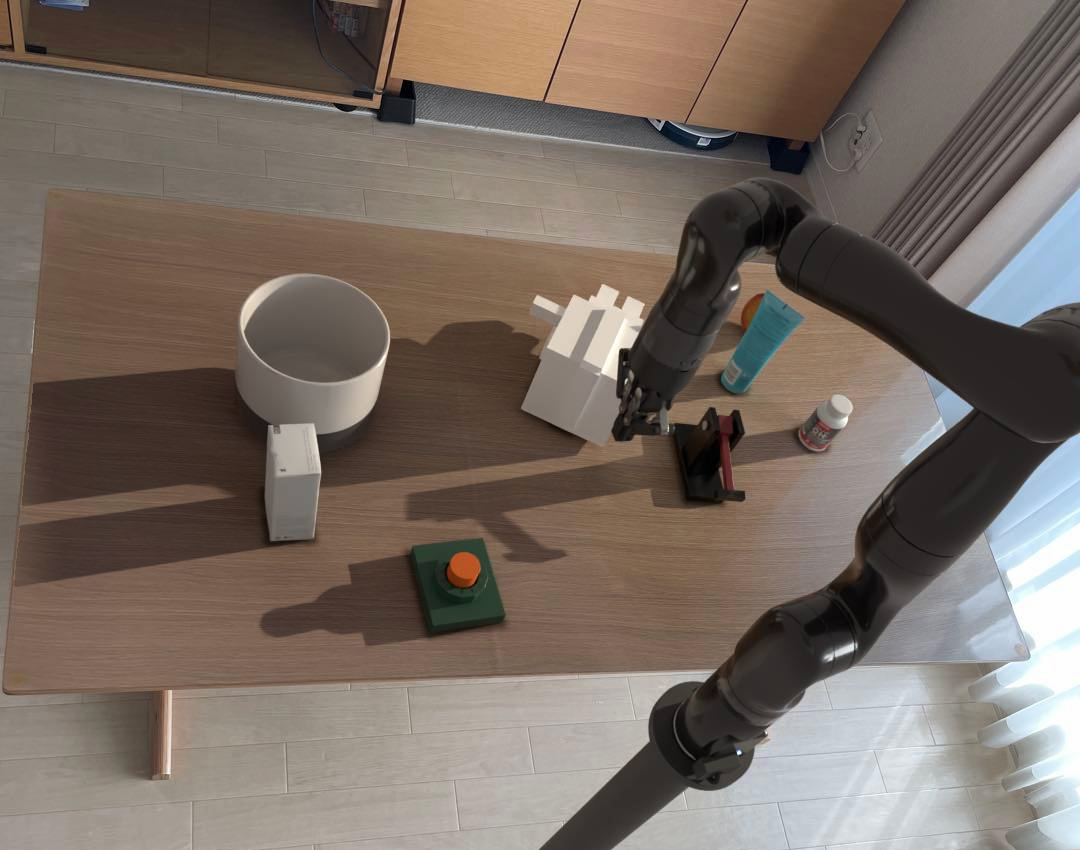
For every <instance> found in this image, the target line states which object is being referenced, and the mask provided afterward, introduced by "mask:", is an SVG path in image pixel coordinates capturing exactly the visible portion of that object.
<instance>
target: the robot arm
mask: <svg viewBox="0 0 1080 850" xmlns="http://www.w3.org/2000/svg"><path fill="white" fill-rule="evenodd" d="M765 254H766V255H769V256H772V257H774V258H775V263H774V271H775V275H776V278H777V280H778V281H779V283H780V284H781V285H782V286H783V287H784V288H786V289H787V290H789V291H790V292H792V293H794V294H795V295H797V296H799V297H801V298H803V299H804V300H807V301H809V302H811V303H813V304H814V305H816V306H819V307H820V308H821V309H825V310H827V311H828V312H830V313H832V314H834V315H836V316H837V317H838V316H839V317H840V318H842V319H844V320H846V321H848V322H849V323H851V324H853V325H856V326H857V327H859V328H860V329H863V330H864V331H866V332H867V333H869V334H870V335H872V336H874V337H876V338H877V339H879V340H880V341H882V342H883V343H885V344H886V345H887V346H889V347H891V348H892V349H893V350H895V351H896V352H897V353H899V354H900V355H901V356H903V357H905V358H906V359H907V360H909V361H910V362H912V363H913V364H914V365H915V366H917V367H918V368H920V370H922V371H924V372H925V373H926V374H927V375H929V376H931V377H932V378H933V379H935V380H936V381H937V382H939V383H940V384H941V385H943V386H944V387H945V388H947V389H949V390H950V391H951V392H952V393H953V394H955V395H956V396H957V397H959V398H960V399H961V400H963V401H964V402H965V403H966V404H968V405H969V406H971V407H972V409H971V410H969V412H968V413H967V414H966V415H965V416H964V417H963V418H961V419H960V420H959V421H957V423H955V424H954V425H953V426H952V427H950V428H949V429H948V430H946V431H945V432H944V433H942V435H940V436H939V437H938V438H936V439H935V440H934V441H933V442H931V443H930V444H929V445H928V446H927V447H926V448H925V449H923V450H922V451H920V453H919V454H917V455H916V456H915V457H914V458H913V459H912V460H910V461H909V463H907V465H905V467H903V468H902V469H901V470H900V472H898V474H896V475H895V476H894V477H893V478H892V479H891V480H890V482H888V484H887V485H886V486H885V488H884V489H883V490H882V491H881V492H880V494H878V496H877V497H876V498H875V499H874V501H873V502H872V503H871V504H870V505H869V506H868V508H867V509H866V511H865V512H864V513H863V515H862V516H861V518H860V520H859V522H858V525H857V527H856V531H855V535H854V557H853V558H852V560H851V561H850V563H849V564H848V565H847V566H846V567H845V568H844V569H843V570H842V571H841V573H839V574H838V575H836V577H835V578H834V579H832V581H830V582H829V583H827V584H826V585H825V586H824V587H822V588H819V589H817V590H816V591H813V592H810V593H807V594H804V595H802V596H799V597H796V598H794V599H791V600H788V601H786V602H783V603H779V604H777V605H775V606H772V607H770V608H769V609H768V610H766V611H765V612H763V613H762V614H761V615H760V616H759V617H758V618H757V619H756V620H755V621H754V622H753V623H752V625H751V626H749V628H748V629H747V630H746V632H744V634H743V635H742V636H741V637H740V638H739V639H738V641H737V643H736V645H735V647H734V651H733V653H732V654H731V655H730V656H729V657H728V658H727V659H726V660H725V661H724V662H723V663H722V664H721V665H720V666H719V667H718V668H717V669H716V670H715V671H713V673H712V674H711V675H710V676H709V677H708V678H707V679H706V680H705V681H703V682H704V683H703V684H702V685H701V686H700V687H697V688H695V689H694V690H693V691H692V692H694V691H695V692H694V693H693V694H692V695H691V696H690V697H689V698H688V699H687V700H686V701H684V702H683V703H682V704H681V705H680V706H679V707H678V708H677V709H676V711H675V713H674V715H673V718H672V733H673V737H674V740H675V742H676V744H677V746H678V748H679V749H680V750H681V752H682V753H683V754H684V755H685V756H686V757H687V758H689V759H690V760H691V761H693V762H694V764H693V765H692V768H693V771H694V774H695V777H696V779H697V780H701V779H706V780H707V781H708V782H709V783H711V784H712V785H717V784H718V783H719V782H720V780H721V777H722V775H723V774H727V773H731V772H733V771H734V770H735V769H737V768H738V767H739V766H741V765H742V764H741V761H740V759H739V758H741V757H742V756H743V755H745V754H746V753H747V752H748V751H750V750H751V749H752V748H754V747H755V748H756V746H758V745H759V744H760V743H761V742H762V741H764V740H765V739H767V738H768V736H769V733H768V729H769V728H770V727H771V726H773V725H774V724H776V722H778V721H779V720H781V718H783V717H784V716H786V714H788V713H789V712H790V711H792V710H794V708H796V707H797V706H798V705H799V704H800V703H801V701H802V700H803V698H804V697H805V694H806V691H807V689H808V688H811V687H812V686H814V685H815V684H817V683H820V682H822V681H824V680H827V679H829V678H832V677H834V676H837V675H839V674H841V673H843V672H847V671H848V670H850V669H852V668H853V667H855V666H856V665H858V664H859V663H860V662H862V661H863V659H865V657H866V656H867V655H868V654H869V653H870V651H871V650H872V648H873V647H874V646H875V645H876V643H877V642H878V640H879V639H880V638H881V636H882V635H883V633H884V632H885V631H886V629H888V627H889V626H890V624H892V622H893V620H895V618H896V617H897V616H898V615H899V613H900V612H902V610H903V609H904V608H906V607H907V606H908V605H909V604H911V603H912V602H913V601H914V600H916V599H917V598H918V597H919V596H920V595H921V594H922V593H924V592H925V590H927V589H928V588H929V587H930V586H931V585H932V584H933V583H935V582H936V580H938V579H939V578H940V577H941V576H943V575H944V573H946V572H947V571H948V570H949V569H950V568H951V567H952V566H953V565H954V564H955V563H956V562H957V561H958V560H959V559H960V558H961V557H962V556H963V555H964V554H966V552H968V550H969V549H970V548H972V546H973V545H974V544H975V543H976V541H977V540H978V539H979V538H980V537H982V535H983V534H984V533H985V532H986V531H987V530H988V528H989V527H991V525H992V524H993V523H994V521H995V520H997V518H998V517H999V516H1000V515H1001V513H1002V512H1003V511H1004V510H1005V508H1007V506H1008V505H1009V504H1010V503H1011V501H1012V500H1014V497H1015V496H1016V495H1017V493H1019V491H1020V490H1021V489H1022V488H1023V486H1024V485H1025V483H1026V482H1027V481H1028V480H1029V478H1030V477H1031V476H1032V475H1033V473H1034V472H1035V471H1036V470H1037V469H1038V468H1039V467H1040V466H1041V465H1042V464H1043V463H1044V461H1046V460H1047V459H1048V458H1049V457H1050V456H1051V455H1052V454H1053V453H1054V452H1055V451H1057V450H1058V449H1059V448H1060V447H1062V446H1063V444H1065V443H1066V442H1068V441H1069V440H1070V439H1072V438H1074V437H1075V436H1077V435H1079V434H1080V301H1078V302H1070V303H1066V304H1062V305H1057V306H1055V307H1053V308H1049V309H1048V310H1044V311H1043V312H1041V313H1040V314H1038V315H1036V316H1034V317H1033V318H1031V319H1030V320H1028V321H1026V322H1025V323H1022V324H1021V325H1020V326H1017V325H1012V324H1008V323H1004V322H1003V321H998V320H995V319H992V318H989V317H986V316H983V315H980V314H977V313H976V312H973V311H971V310H969V309H967V308H964V307H962V306H960V305H959V304H956V303H955V302H954V301H953V300H950V299H949V298H947V297H946V295H944V294H942V293H941V292H939V290H937V289H936V287H934V286H933V285H932V284H931V283H930V282H929V281H928V280H927V279H926V278H925V277H924V276H923V275H922V274H921V273H920V271H918V269H916V267H915V266H914V265H913V264H912V263H911V262H910V261H909V260H908V259H907V258H906V257H904V256H903V255H901V254H900V253H899V252H897V251H896V250H895V249H894V248H892V247H890V246H888V245H887V244H885V243H883V242H881V241H880V240H878V239H876V238H873V237H871V236H869V235H867V234H865V233H862V232H861V231H858V230H856V229H854V228H851V227H849V226H847V225H845V224H843V223H840V222H839V221H835V220H833V219H830V218H828V216H826V215H825V214H824V213H823V212H822V211H821V209H820V208H818V207H817V206H816V205H815V204H813V203H812V202H811V201H810V200H809V199H807V198H806V197H805V196H803V195H802V194H801V193H800V192H799V191H797V190H796V189H795V188H793V187H791V186H790V185H789V184H787V183H785V182H782V181H779V180H777V179H773V178H769V177H760V176H758V177H750V178H748V179H745V180H741V181H739V182H737V183H734V184H731V185H729V186H726V187H723V188H721V189H718V190H715V191H713V192H710V193H708V194H707V195H705V196H704V197H702V198H701V199H700V200H699V201H698V202H697V203H696V204H695V206H694V207H693V208H692V209H691V211H690V212H689V214H688V216H687V218H686V220H685V222H684V225H683V227H682V231H681V236H680V241H679V246H678V251H677V255H676V263H675V269H674V271H673V272H672V274H671V276H670V278H669V279H668V281H667V283H666V285H665V287H664V289H663V290H662V293H661V294H660V296H659V298H658V299H657V300H656V302H655V303H654V305H652V307H651V309H650V311H649V312H648V314H647V316H646V319H645V320H644V321H643V324H642V328H641V330H640V332H639V334H638V336H637V338H636V340H635V341H634V343H633V345H632V347H631V348H620V350H619V357H618V372H617V386H616V396H617V398H618V399H621V403H620V405H619V414H618V416H617V418H616V419H615V421H614V425H613V428H612V429H611V434H612V437H613V440H614V442H620V443H623V442H624V443H625V442H631V441H632V440H633V439H634V438H635V436H648V437H649V436H651V437H655V436H668V435H669V436H670V435H673V433H674V430H675V429H674V423H669V415H668V412H669V411H671V409H672V408H673V406H674V401H675V399H676V398H675V397H676V396H678V394H679V393H680V392H682V391H683V390H685V389H686V388H687V387H688V386H689V384H690V383H691V381H692V380H693V378H694V377H695V375H696V373H697V372H698V371H699V368H700V367H701V365H702V364H703V362H704V360H705V358H706V357H707V355H708V354H709V352H710V350H711V349H712V347H713V346H714V343H715V342H716V339H717V337H718V335H719V332H720V330H721V328H722V326H723V325H724V323H725V321H726V319H727V318H728V317H729V315H730V313H731V312H732V310H733V308H734V306H736V303H737V301H738V299H739V297H740V294H741V292H742V278H741V274H740V272H739V270H738V269H739V268H740V267H741V266H742V265H743V264H744V263H746V262H749V261H750V260H753V259H755V258H758V257H759V256H762V255H765ZM626 379H628V380H627V382H626V384H625V380H626ZM653 416H654V417H653ZM651 417H652V418H651ZM650 418H651V420H649V419H650ZM692 692H691V693H692ZM714 776H715V778H713V777H714Z"/></svg>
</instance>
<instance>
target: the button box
mask: <svg viewBox="0 0 1080 850" xmlns="http://www.w3.org/2000/svg"><path fill="white" fill-rule="evenodd" d="M485 543H486V542H485V539H484V538H483V537H479V538H470V539H469V538H468V539H459V540H452V541H451V540H450V541H442V542H434V543H433V542H432V543H425V544H424V543H423V544H416V545H414V544H413V545H412V546H411V550H410V552H409V556H410V560H411V563H412V567H413V571H414V575H415V580H416V583H417V588H418V591H419V595H420V599H421V603H422V607H423V611H424V616H425V619H426V623H427V627H428V630H429V633H430V634H432V633H440V632H446V631H453V630H459V629H467V628H474V627H479V626H480V627H481V626H487V625H495V624H501V623H503V622H504V619H505V618H506V615H507V614H506V610H505V608H504V604H503V600H502V597H501V594H500V590H499V586H498V584H497V580H496V577H495V574H494V569H493V567H492V563H491V561H490V557H489V553H488V550H487V547H486V544H485ZM461 552H467V553H470V554H472V555H474V556H475V557H476V558H477V559H478V561H479V563H480V572H479V574H478V576H477V578H476V580H475V582H474V584H473V585H472V586H470V587H468V588H458V587H455V586H454V585H452V584H451V583H450V582H449V580H448V579H447V575H446V572H447V568H448V566H449V563H450V561H451V559H452V557H453V556H454V555H456V554H457V553H461Z"/></svg>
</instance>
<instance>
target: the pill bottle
mask: <svg viewBox="0 0 1080 850" xmlns="http://www.w3.org/2000/svg"><path fill="white" fill-rule="evenodd" d="M853 407H854V406H853V404H852V402H851V401H850V400H849V399H848V398H847V397H846V396H844V395H842V394H834V395H831V397H830V398H829V399H828V400H825V401H822V402H821V403H819V405H818V406H817V407H816V408H815V410H814V411H813V412H812V414H810V416H809V417H808V418H807V419H806V421H805V422H804V423H803V424H802V425H801V427H800V428H799V430H798V439H799V441H800V442H801V444H802V445H803V446H804V447H805V448H806V449H808V450H811V451H813V452H822V451H824V450H825V449H826V448H827V447H828V446H830V444H831V443H832V442H833V441H834V440H835V438H836V437H837V436H838V435H839V434H840V433H841V432H842V430H843V429H844V428H845V427H846V425H847V424H848V420H849V416H850V414H852V411H853Z"/></svg>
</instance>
